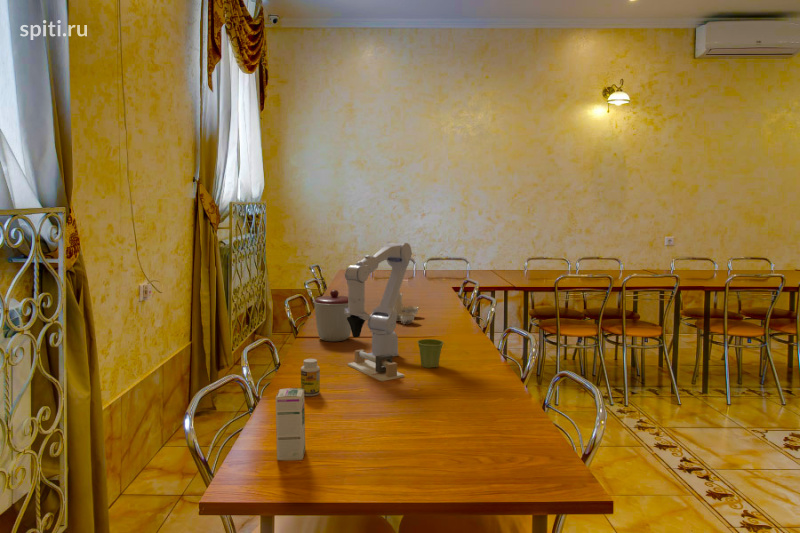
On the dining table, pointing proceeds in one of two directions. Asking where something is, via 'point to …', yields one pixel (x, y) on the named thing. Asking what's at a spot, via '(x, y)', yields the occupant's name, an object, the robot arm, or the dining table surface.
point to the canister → (332, 317)
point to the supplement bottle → (310, 377)
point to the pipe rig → (374, 366)
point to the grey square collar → (379, 362)
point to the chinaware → (404, 311)
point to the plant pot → (430, 352)
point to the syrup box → (290, 424)
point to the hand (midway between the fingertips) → (356, 336)
